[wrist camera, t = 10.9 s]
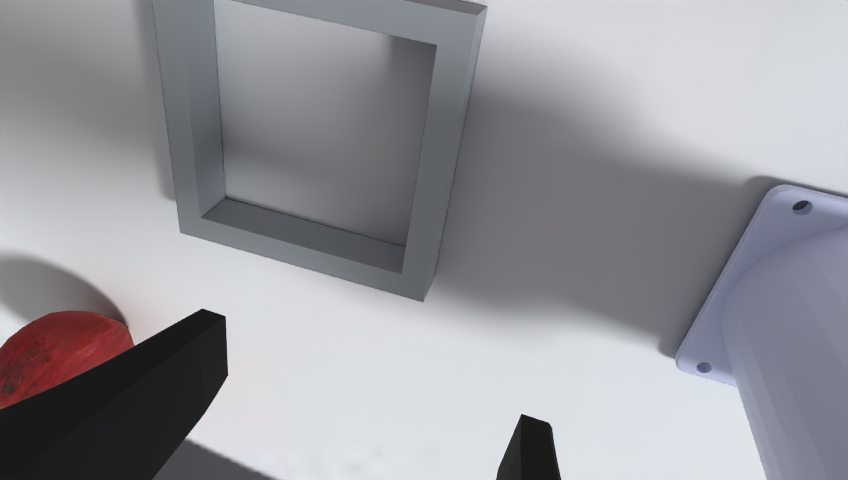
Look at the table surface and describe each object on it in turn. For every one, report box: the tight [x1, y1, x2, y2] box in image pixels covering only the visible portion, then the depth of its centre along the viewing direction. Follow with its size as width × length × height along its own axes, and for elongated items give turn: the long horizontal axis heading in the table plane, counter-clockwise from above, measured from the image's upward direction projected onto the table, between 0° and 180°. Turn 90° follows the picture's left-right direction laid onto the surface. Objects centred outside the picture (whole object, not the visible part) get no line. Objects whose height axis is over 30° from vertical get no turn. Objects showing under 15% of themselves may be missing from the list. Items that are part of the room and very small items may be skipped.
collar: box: [152, 0, 487, 302], centre depth 19 cm, size 10×10×2 cm
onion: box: [0, 311, 134, 409], centre depth 26 cm, size 6×6×8 cm
